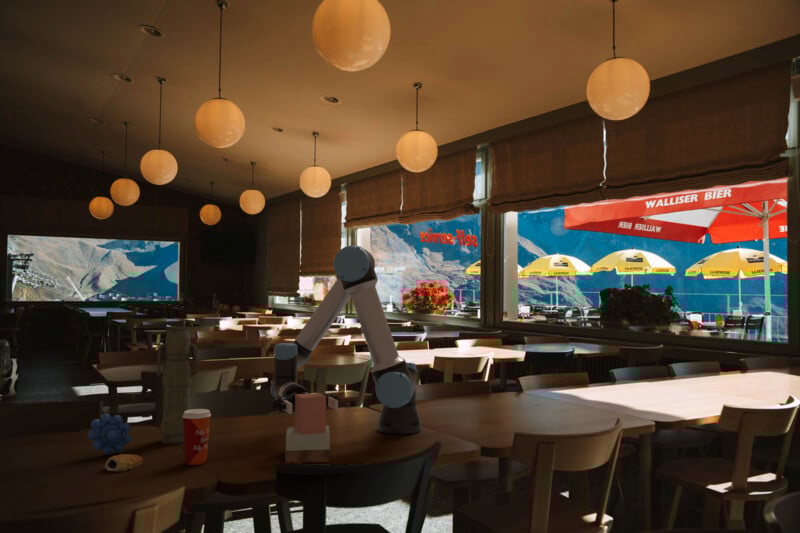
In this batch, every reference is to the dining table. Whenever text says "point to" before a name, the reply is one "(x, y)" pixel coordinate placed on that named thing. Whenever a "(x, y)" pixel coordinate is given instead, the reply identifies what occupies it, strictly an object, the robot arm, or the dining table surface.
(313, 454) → the tower base
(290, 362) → the robot arm
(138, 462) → the pastry
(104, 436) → the blue knobbly flower
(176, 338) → the stone statue
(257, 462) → the dining table surface
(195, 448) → the paper cup
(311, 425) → the salmon pink block
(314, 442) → the tower top
